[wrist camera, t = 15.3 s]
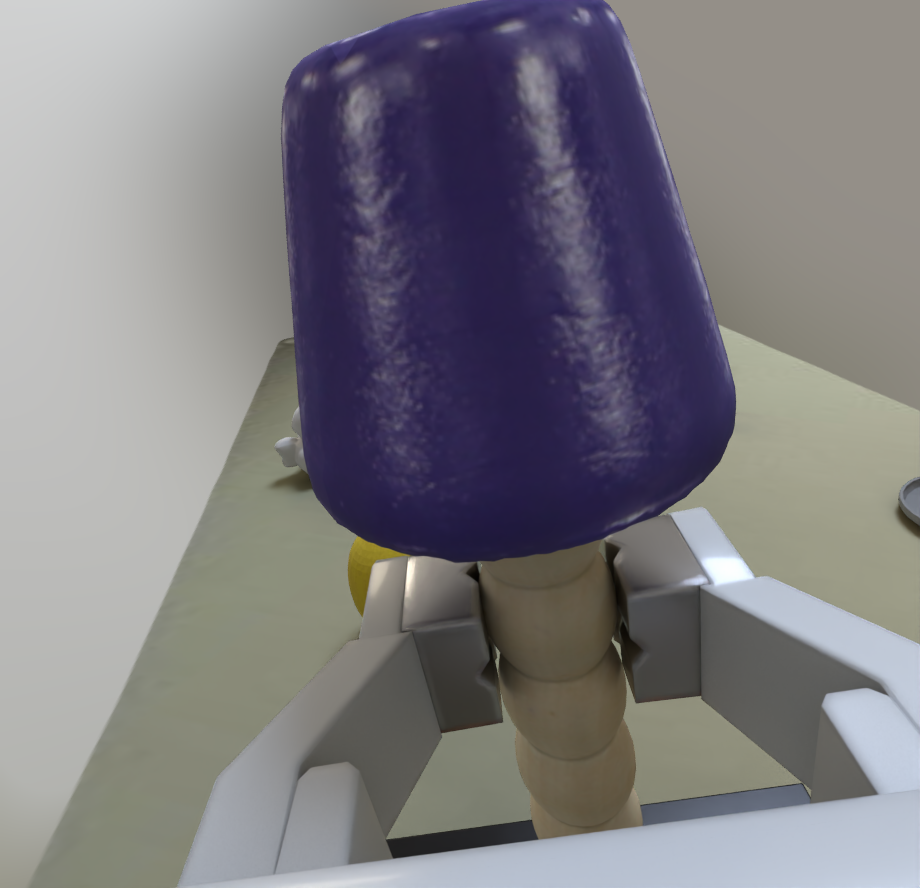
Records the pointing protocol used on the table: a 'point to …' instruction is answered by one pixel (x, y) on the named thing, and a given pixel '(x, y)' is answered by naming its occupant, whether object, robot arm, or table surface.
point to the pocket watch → (911, 499)
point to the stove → (650, 812)
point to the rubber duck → (293, 446)
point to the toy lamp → (504, 342)
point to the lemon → (364, 568)
